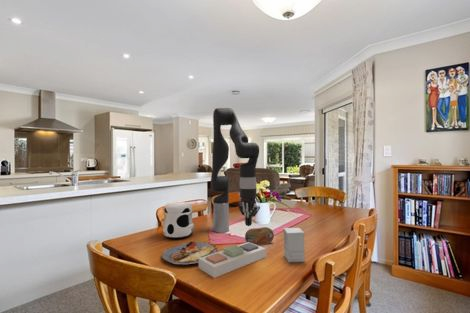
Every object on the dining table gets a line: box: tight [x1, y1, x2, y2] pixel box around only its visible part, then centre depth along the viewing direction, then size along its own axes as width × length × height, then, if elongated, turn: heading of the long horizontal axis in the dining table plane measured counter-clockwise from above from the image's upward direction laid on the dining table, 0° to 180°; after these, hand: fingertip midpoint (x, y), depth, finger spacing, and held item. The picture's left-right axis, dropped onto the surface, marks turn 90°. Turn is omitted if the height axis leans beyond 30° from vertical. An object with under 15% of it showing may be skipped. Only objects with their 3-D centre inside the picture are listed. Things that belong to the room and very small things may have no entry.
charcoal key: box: [239, 242, 259, 252], centre depth 112 cm, size 6×6×3 cm
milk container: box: [162, 201, 195, 239], centre depth 144 cm, size 17×17×18 cm
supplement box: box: [283, 227, 306, 263], centre depth 109 cm, size 7×7×13 cm
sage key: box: [223, 244, 243, 258], centre depth 107 cm, size 6×6×3 cm
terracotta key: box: [206, 253, 227, 264], centre depth 101 cm, size 6×6×3 cm
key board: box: [198, 242, 267, 279], centre depth 107 cm, size 11×28×4 cm, turn 130°
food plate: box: [161, 241, 218, 266], centre depth 115 cm, size 25×23×4 cm
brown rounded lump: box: [244, 226, 275, 246], centre depth 128 cm, size 15×3×8 cm, turn 105°
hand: (248, 225), depth 112 cm, fingers closed
